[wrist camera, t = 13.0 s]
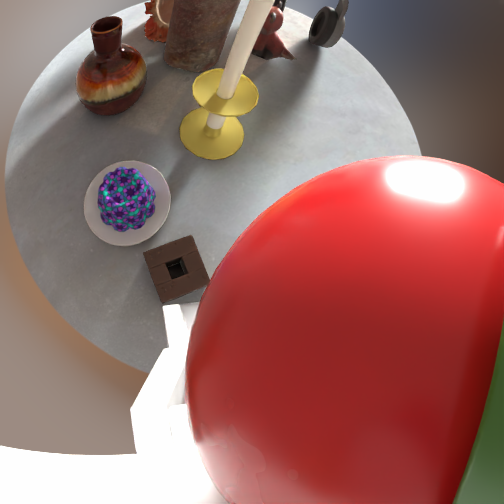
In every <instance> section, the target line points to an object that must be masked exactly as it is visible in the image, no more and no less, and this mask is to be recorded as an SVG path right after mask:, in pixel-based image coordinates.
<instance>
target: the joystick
mask: <svg viewBox="0 0 504 504" xmlns="http://www.w3.org/2000/svg"><path fill="white" fill-rule="evenodd" d="M185 403H186V410H187V417H188V424H189V429H190V432H191V435H192V438H193V441H194V444H195V447H196V450H197V453H198V456H199V458H200V460H201V462H202V464H203V466H204V469H205V470H206V472H207V474H208V476H209V477H210V479H211V481H212V483H213V484H214V486H215V488H216V489H217V491H218V492H219V493H220V494H221V496H222V497H223V498H224V499H225V500H226V501H227V502H228V504H504V184H503V183H501V182H499V181H497V180H495V179H493V178H491V177H490V176H488V175H486V174H484V173H482V172H480V171H478V170H475V169H473V168H471V167H469V166H465V165H462V164H458V163H454V162H451V161H447V160H443V159H438V158H432V157H422V156H390V157H381V158H374V159H368V160H362V161H357V162H354V163H351V164H348V165H345V166H342V167H338V168H336V169H333V170H331V171H328V172H326V173H323V174H320V175H318V176H316V177H314V178H312V179H311V180H309V181H307V182H305V183H303V184H301V185H299V186H298V187H296V188H294V189H293V190H291V191H290V192H289V193H287V194H286V195H284V196H283V197H281V198H280V199H279V200H278V201H276V202H275V203H274V204H273V205H271V206H270V207H269V208H267V209H266V210H265V211H264V212H262V213H261V214H260V215H259V216H258V217H257V218H256V219H255V220H254V221H253V222H252V223H251V224H250V225H249V226H248V227H247V228H246V230H245V231H244V232H243V233H242V234H241V235H240V236H239V237H238V238H237V240H236V241H235V243H234V244H233V245H232V247H231V248H230V250H229V251H228V253H227V254H226V255H225V257H224V258H223V260H222V261H221V263H220V264H219V265H218V267H217V268H216V270H215V272H214V274H213V276H212V278H211V280H210V282H209V283H208V285H207V287H206V289H205V291H204V293H203V295H202V297H201V300H200V303H199V306H198V309H197V312H196V315H195V318H194V321H193V324H192V326H191V331H190V336H189V342H188V347H187V352H186V359H185Z"/></svg>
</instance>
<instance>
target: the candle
mask: <svg viewBox="0 0 504 504" xmlns="http://www.w3.org/2000/svg"><path fill="white" fill-rule="evenodd" d="M274 1H275V0H250V1H249V4H248V6H247V9H246V11H245V14H244V16H243V19H242V21H241V24H240V27H239V29H238V32H237V35H236V37H235V40H234V43H233V46H232V48H231V51H230V54H229V57H228V60H227V63H226V66H225V68H224V69H212V70H208V71H205V72H203V73H202V74H200V75H199V76H198V77H196V79H195V81H194V83H193V85H192V91H193V97H194V99H195V100H196V101H197V103H198V104H199V106H200V107H201V108H198V109H195V110H192V111H191V112H190V113H189V114H188V115H186V116H185V117H184V118H183V120H182V123H181V125H180V127H179V131H180V139H181V141H182V143H183V144H184V146H185V147H186V149H187V150H189V151H190V152H192V153H193V154H194V155H196V156H198V157H202V158H205V159H209V160H215V159H224V158H226V157H229V156H231V155H233V154H235V153H236V151H237V150H238V149H239V148H240V147H241V146H242V142H243V139H244V132H243V127H242V125H241V123H240V122H239V120H238V119H237V118H236V117H238V116H241V115H244V114H247V113H249V112H250V111H251V110H252V109H253V108H254V107H255V106H256V105H257V102H258V98H259V94H258V90H257V87H256V86H255V85H254V83H253V82H252V81H251V80H250V79H249V78H248V77H246V76H245V75H243V74H242V72H243V70H244V67H245V65H246V63H247V60H248V58H249V56H250V53H251V51H252V49H253V46H254V44H255V42H256V40H257V37H258V35H259V33H260V31H261V29H262V27H263V24H264V22H265V20H266V18H267V16H268V14H269V12H270V10H271V8H272V5H273V3H274Z"/></svg>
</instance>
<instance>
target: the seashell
mask: <svg viewBox="0 0 504 504" xmlns="http://www.w3.org/2000/svg"><path fill="white" fill-rule="evenodd" d="M173 4H174V0H151V2H146V3H145V6H146V11H145V13H146V14H153V15H152V16H150V17H151V18H149V20H148V21H147V23H146V24H145V28H146V29H145V30H144V31H145V32H146V33H145V36H146V37H147V38H148V39H149V40H154V42H156V41H157V40H158V41H161V42H166V40H167V34H168V28H169V23H170V18H171V14H172V9H173Z"/></svg>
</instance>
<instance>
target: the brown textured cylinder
mask: <svg viewBox="0 0 504 504" xmlns="http://www.w3.org/2000/svg"><path fill="white" fill-rule="evenodd" d="M240 1H241V0H174V4H173V9H172V14H171V18H170V23H169V28H168V34H167V40H166V46H165V53H164V60H165V62H166V63H167V64H168V65H170V66H172V67H173V68H180V69H183V70H187V71H192V72H201V71H205V70H207V69H209V68H210V67H212V66H214V65H215V64H216V63H217V62H218V60H219V57H220V55H221V52H222V49H223V46H224V43H225V41H226V38H227V35H228V32H229V29H230V27H231V24H232V22H233V19H234V16H235V14H236V11H237V8H238V6H239V3H240Z"/></svg>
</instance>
